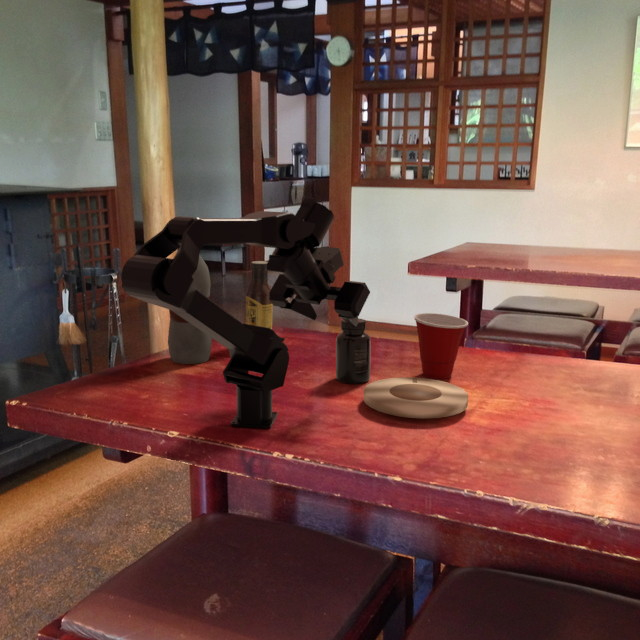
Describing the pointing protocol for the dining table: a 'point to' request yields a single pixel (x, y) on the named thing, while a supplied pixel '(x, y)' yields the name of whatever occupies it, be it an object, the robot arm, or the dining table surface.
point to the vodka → (190, 327)
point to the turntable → (415, 397)
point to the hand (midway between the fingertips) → (335, 321)
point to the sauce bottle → (259, 297)
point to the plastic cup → (439, 343)
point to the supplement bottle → (353, 353)
